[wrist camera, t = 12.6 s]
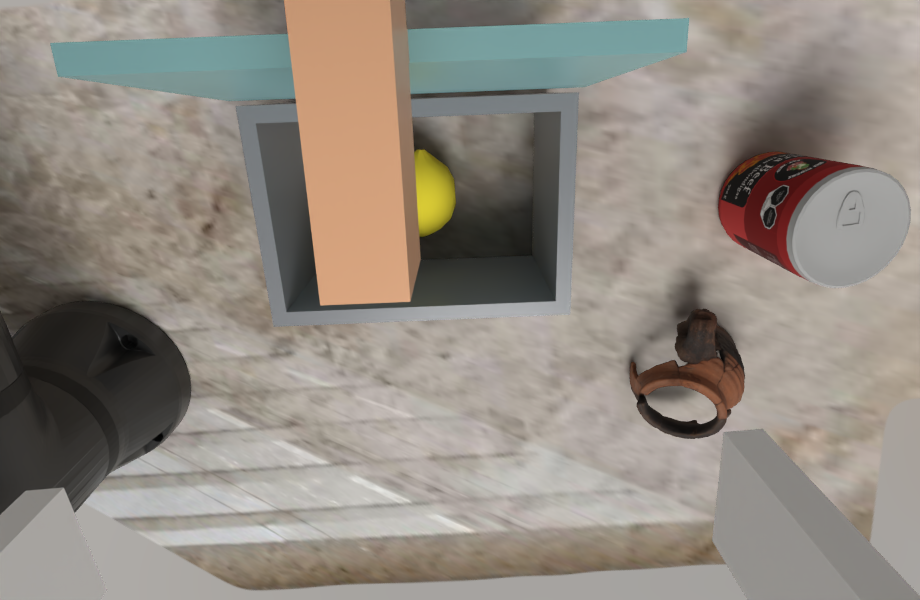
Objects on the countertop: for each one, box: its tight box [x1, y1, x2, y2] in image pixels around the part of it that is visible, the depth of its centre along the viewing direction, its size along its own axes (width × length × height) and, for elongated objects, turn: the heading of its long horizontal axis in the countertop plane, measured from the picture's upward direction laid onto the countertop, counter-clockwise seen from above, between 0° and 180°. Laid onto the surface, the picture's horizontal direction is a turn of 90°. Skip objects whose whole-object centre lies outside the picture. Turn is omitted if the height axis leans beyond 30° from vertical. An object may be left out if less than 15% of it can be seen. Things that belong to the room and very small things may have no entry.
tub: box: [236, 93, 579, 327], centre depth 39 cm, size 20×14×11 cm
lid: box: [50, 0, 689, 305], centre depth 23 cm, size 21×20×8 cm
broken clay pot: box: [630, 309, 745, 439], centre depth 48 cm, size 12×9×8 cm
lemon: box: [414, 149, 456, 237], centre depth 42 cm, size 7×5×5 cm
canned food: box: [718, 152, 911, 288], centre depth 40 cm, size 8×8×11 cm
